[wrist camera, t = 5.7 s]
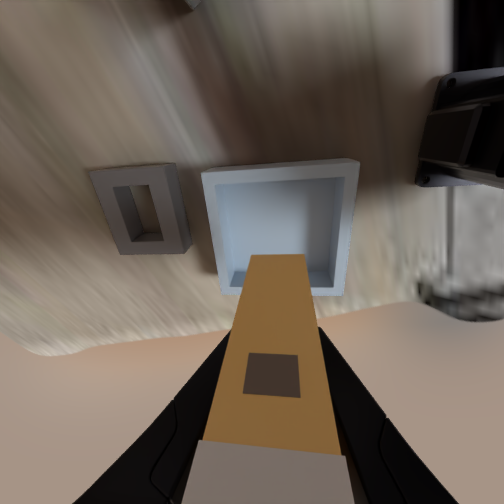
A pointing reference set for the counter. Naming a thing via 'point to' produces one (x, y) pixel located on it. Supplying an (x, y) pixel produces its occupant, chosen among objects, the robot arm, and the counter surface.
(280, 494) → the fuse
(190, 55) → the counter surface
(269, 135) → the counter surface
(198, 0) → the electrical switch
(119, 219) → the block
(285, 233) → the parts tray
